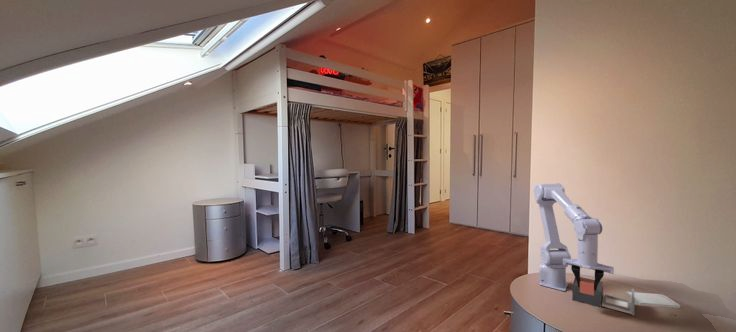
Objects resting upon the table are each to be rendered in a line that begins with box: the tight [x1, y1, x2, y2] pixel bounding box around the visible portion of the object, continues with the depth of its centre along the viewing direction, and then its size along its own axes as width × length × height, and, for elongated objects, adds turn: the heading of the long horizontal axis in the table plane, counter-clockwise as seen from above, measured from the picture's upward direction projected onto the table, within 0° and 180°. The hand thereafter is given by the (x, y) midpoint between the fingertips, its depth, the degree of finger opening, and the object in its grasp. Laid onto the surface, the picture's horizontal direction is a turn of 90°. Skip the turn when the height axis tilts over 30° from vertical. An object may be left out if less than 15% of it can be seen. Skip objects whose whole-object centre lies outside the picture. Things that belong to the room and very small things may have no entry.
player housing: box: [571, 276, 604, 308], centre depth 111 cm, size 9×9×6 cm
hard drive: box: [625, 291, 681, 309], centre depth 108 cm, size 2×8×12 cm
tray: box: [601, 288, 636, 316], centre depth 105 cm, size 9×9×6 cm
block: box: [580, 277, 595, 296], centre depth 103 cm, size 4×4×4 cm
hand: (587, 287), depth 103 cm, fingers closed on block, 4 cm apart
